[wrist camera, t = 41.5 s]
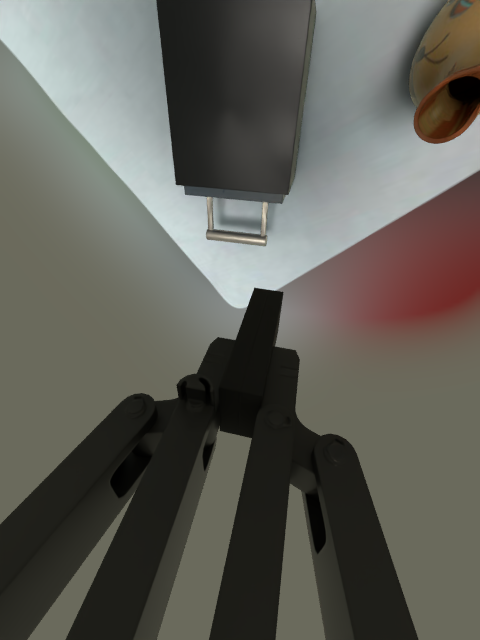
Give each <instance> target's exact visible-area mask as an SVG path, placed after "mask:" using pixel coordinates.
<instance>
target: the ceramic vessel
mask: <svg viewBox="0 0 480 640" xmlns="http://www.w3.org/2000/svg"><path fill="white" fill-rule="evenodd" d="M409 92H410V96H411V99H412V101H413V103H414V105H415V106H416V108H417V109H416V112H415V115H414V129H415V131H416V133H417V135H418V136H419V137H420V138H421V139H422V140H424V141H426V142H428V143H434V144H438V143H444V142H448V141H450V140H453V139H454V138H456V137H458V136H459V135H461V134H462V133H463V132H464V131H465V130H466V129H467V128H468V127H469V126H470V125H471V124H472V122H473V121H474V120H475V118H476V117H477V115H479V114H480V0H448V1H447V3H446V4H445V5H444V6H443V8H442V9H441V10H440V12H439V13H438V14H437V16H436V17H435V19H434V20H433V21H432V23H431V25H430V26H429V28H428V29H427V31H426V33H425V35H424V36H423V38H422V40H421V42H420V44H419V46H418V49H417V51H416V53H415V56H414V59H413V62H412V65H411V70H410V75H409Z"/></svg>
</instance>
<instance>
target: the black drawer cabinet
mask: <svg viewBox="0 0 480 640" xmlns="http://www.w3.org/2000/svg"><path fill="white" fill-rule="evenodd" d="M157 10H158V19H159V29H160V38H161V48H162V57H163V67H164V76H165V85H166V95H167V104H168V114H169V123H170V133H171V142H172V152H173V161H174V171H175V180H176V185H182V186H193V187H204V188H216V189H227V190H239V191H250V192H261V193H273V194H284V195H288V194H289V192H290V189H291V186H292V183H293V180H294V177H295V171H296V164H297V156H298V148H299V141H300V133H301V125H302V118H303V110H304V102H305V95H306V87H307V80H308V72H309V64H310V57H311V49H312V41H313V34H314V26H315V18H316V4H315V0H157Z"/></svg>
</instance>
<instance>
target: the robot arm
mask: <svg viewBox="0 0 480 640" xmlns="http://www.w3.org/2000/svg"><path fill="white" fill-rule="evenodd" d="M282 299H283V292H280V291H273V290H266V289H259V288H254V291H253V293H252V296H251V299H250V302H249V304H248V307H247V310H246V313H245V315H244V318H243V321H242V324H241V327H240V330H239V332H238V335H237V338H236V340H231V339H225V338H219V337H218V338H217V339H215V340H214V341H213V342H212V343H211V344H210V346H209V348H208V350H207V352H206V355H205V357H204V359H203V361H202V363H201V365H200V368H199V370H198V372H197V374H191V375H187V376H186V377H184V378H182V379H181V380H180V381H179V383H178V384H177V391H178V396H179V397H178V398H176V399H172V400H163V401H154V399H153V398H152V397H151V396H149V395H146V394H143V393H140V394H134V395H131V396H129V397H127V398H126V399H124V400H123V401H122V402H121V403H120V404H119V405H118V406H117V407H116V408H115V409H114V410H113V411H112V412H111V413H110V414H109V415H108V416H107V417H106V418H105V419H104V420H103V421H102V422H101V423H100V424H99V425H98V426H97V427H96V428H95V429H94V430H93V431H92V432H91V433H90V434H89V435H88V436H87V437H86V438H85V439H84V440H83V441H82V442H81V443H80V444H79V445H78V446H77V447H76V448H75V449H74V450H73V451H72V452H71V453H70V454H69V455H68V456H67V457H66V459H64V460H63V461H62V463H60V464H59V465H58V466H57V468H56V469H55V470H54V471H53V472H52V473H51V474H50V475H49V476H48V477H47V478H46V479H45V480H44V481H43V482H42V483H41V484H40V485H39V486H38V487H37V488H36V489H35V490H34V491H33V492H32V493H31V494H30V495H29V496H28V497H27V498H26V499H25V500H24V501H23V502H22V503H21V504H20V505H19V506H18V507H17V508H16V509H15V510H14V511H13V512H12V513H11V514H10V515H9V516H8V517H7V518H6V519H5V520H4V521H3V522H2V523H1V524H0V640H27V639H28V638H29V636H30V635H31V633H32V632H33V631H34V629H35V628H36V627H37V625H38V624H39V623H40V621H41V620H42V618H43V617H44V616H45V614H46V613H47V612H48V610H49V609H50V607H51V606H52V605H53V603H54V602H55V601H56V599H57V598H58V596H59V595H60V594H61V592H62V591H63V589H64V588H65V587H66V585H67V584H68V583H69V581H70V580H71V579H72V577H73V576H74V574H75V573H76V572H77V570H78V569H79V568H80V566H81V565H82V563H83V562H84V561H85V559H86V558H87V557H88V555H89V554H90V552H91V551H92V549H93V548H94V547H95V546H96V544H97V543H98V541H99V540H100V539H101V537H102V536H103V534H104V533H105V532H106V530H107V529H108V528H109V526H110V525H111V524H112V522H113V521H114V519H115V518H116V517H117V515H118V514H119V513H120V511H121V510H122V508H123V507H124V506H125V504H126V503H127V502H128V500H129V499H130V498H131V496H132V495H133V493H134V492H135V491H136V492H135V494H134V496H133V498H132V500H131V503H130V504H129V507H128V509H127V511H126V513H125V515H124V517H123V519H122V521H121V523H120V526H119V528H118V530H117V532H116V534H115V536H114V538H113V541H112V542H111V545H110V547H109V549H108V551H107V553H106V555H105V557H104V559H103V562H102V564H101V566H100V568H99V570H98V572H97V574H96V577H95V578H94V581H93V583H92V585H91V587H90V589H89V591H88V593H87V596H86V598H85V600H84V602H83V604H82V606H81V608H80V610H79V612H78V614H77V617H76V619H75V621H74V623H73V625H72V627H71V629H70V631H69V634H68V636H67V638H66V640H157V637H158V633H159V630H160V627H161V624H162V620H163V617H164V614H165V610H166V607H167V603H168V601H169V597H170V594H171V591H172V587H173V584H174V581H175V578H176V574H177V571H178V568H179V565H180V561H181V558H182V555H183V551H184V548H185V545H186V542H187V538H188V535H189V532H190V529H191V525H192V522H193V519H194V516H195V512H196V509H197V506H198V502H199V499H200V496H201V493H202V489H203V486H204V483H205V479H206V476H207V473H208V470H209V466H210V463H211V460H212V457H213V453H214V450H215V446H216V440H217V437H216V436H217V432H218V429H219V426H220V431H223V432H227V433H232V434H236V435H240V436H245V437H249V438H252V440H251V446H250V450H249V455H248V459H247V464H246V469H245V474H244V478H243V483H242V488H241V492H240V497H239V501H238V506H237V511H236V516H235V520H234V525H233V530H232V534H231V539H230V544H229V549H228V553H227V558H226V563H225V567H224V572H223V576H222V581H221V586H220V591H219V595H218V600H217V605H216V609H215V614H214V619H213V623H212V628H211V633H210V638H209V640H275V638H276V627H277V616H278V605H279V594H280V584H281V573H282V561H283V551H284V540H285V529H286V518H287V507H288V496H289V485H290V484H292V485H293V486H295V487H297V488H298V489H300V490H301V491H302V497H303V503H304V510H305V515H306V522H307V528H308V534H309V540H310V546H311V552H312V559H313V565H314V571H315V576H316V583H317V589H318V595H319V601H320V608H321V613H322V620H323V625H324V632H325V638H326V640H418V637H417V634H416V631H415V628H414V625H413V622H412V619H411V616H410V613H409V610H408V607H407V604H406V601H405V598H404V595H403V592H402V589H401V586H400V583H399V580H398V577H397V574H396V571H395V568H394V565H393V562H392V559H391V556H390V553H389V550H388V547H387V544H386V541H385V538H384V535H383V532H382V529H381V526H380V523H379V520H378V517H377V514H376V511H375V508H374V505H373V501H372V498H371V496H370V492H369V489H368V486H367V484H366V480H365V477H364V474H363V471H362V468H361V466H360V462H359V459H358V457H357V453H356V452H355V450H354V448H353V447H352V445H351V444H350V443H349V442H348V441H347V440H346V439H344V438H342V437H340V436H338V435H334V434H326V435H322V436H320V435H318V434H316V433H314V432H312V431H311V430H309V429H308V428H306V427H305V426H304V425H303V424H302V423H301V422H300V421H299V419H298V418H297V415H296V412H295V404H296V393H297V382H298V372H299V371H298V370H299V361H300V359H299V357H298V355H297V352H296V350H291V349H285V348H280V347H275V343H276V338H277V333H278V327H279V320H280V312H281V306H282ZM136 489H137V490H136Z"/></svg>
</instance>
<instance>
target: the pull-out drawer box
mask: <svg viewBox="0 0 480 640" xmlns="http://www.w3.org/2000/svg"><path fill="white" fill-rule="evenodd" d="M184 189H185V195H194V196H205V197H207V212H208V229H207V232H206V238H207V239H208V240H216V241H225V242H233V243H242V244H250V245H259V246H266V244H267V235H266V225H267V213H268V202H269V203H280V204H282V203H283V200H284V198H285V195H284V194H273V193H261V192H250V191H239V190H227V189H216V188H204V187H193V186H184ZM213 197H215V198H226V199H237V200H248V201H258V202H263V208H262V222H261V234H252V233H243V232H234V231H225V230H216V229H214V224H213Z"/></svg>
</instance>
